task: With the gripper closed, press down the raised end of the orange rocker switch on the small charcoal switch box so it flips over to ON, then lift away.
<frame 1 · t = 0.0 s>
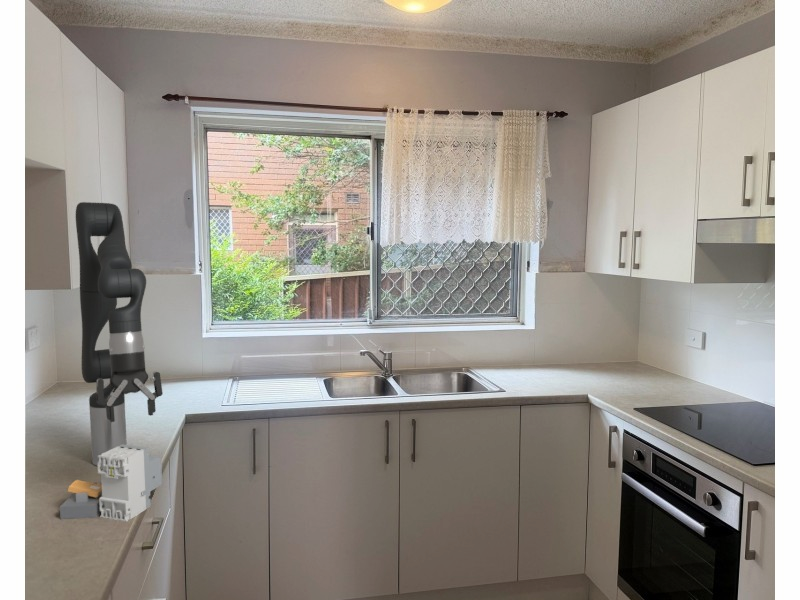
hand: (131, 418, 138), 22 cm above the worktop, tool pointing down, fingers open, 8 cm apart
switch box: (87, 508, 139), on the worktop
circuit breaker: (135, 506, 140), on the worktop
rocker: (86, 489, 138), point 5 cm above the worktop, hinge at -16.0°
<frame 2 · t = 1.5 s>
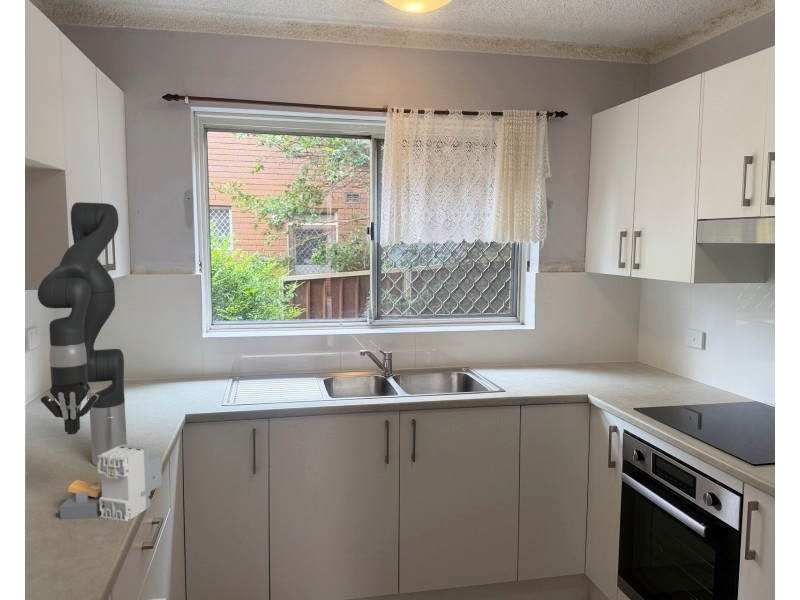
hand: (72, 433, 137), 19 cm above the worktop, tool pointing down, fingers closed
nothing on the worktop moved.
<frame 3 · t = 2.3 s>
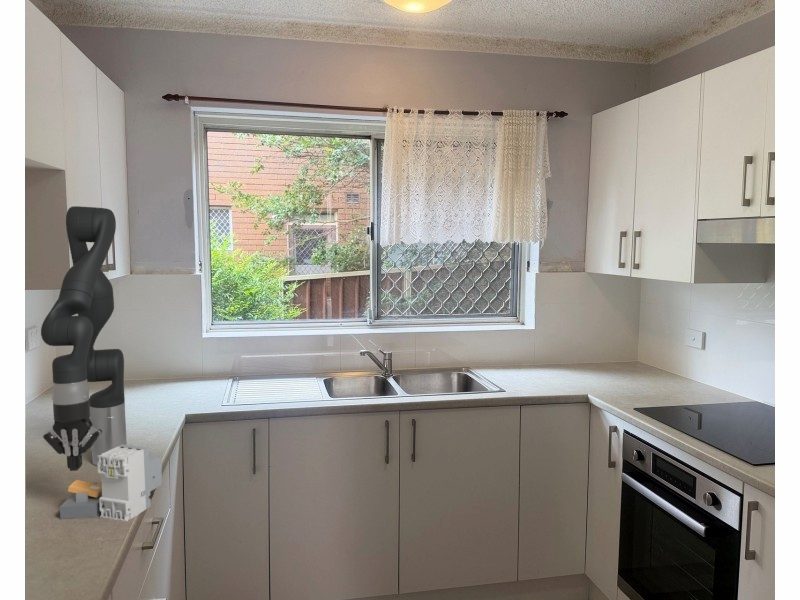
hand: (74, 469, 137), 10 cm above the worktop, tool pointing down, fingers closed
nothing on the worktop moved.
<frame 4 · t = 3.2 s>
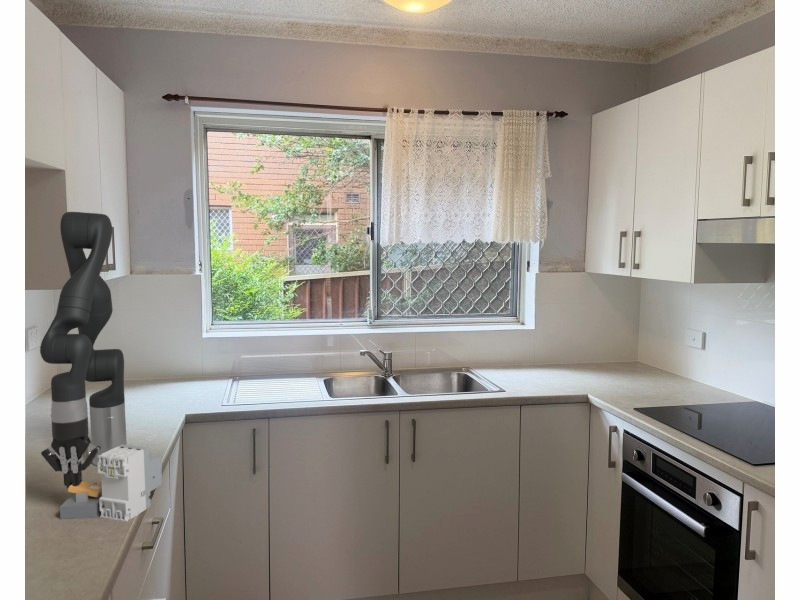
hand: (73, 486, 138), 6 cm above the worktop, tool pointing down, fingers closed
rocker: (86, 489, 138), point 5 cm above the worktop, hinge at -15.0°, touching gripper
everything else where it was.
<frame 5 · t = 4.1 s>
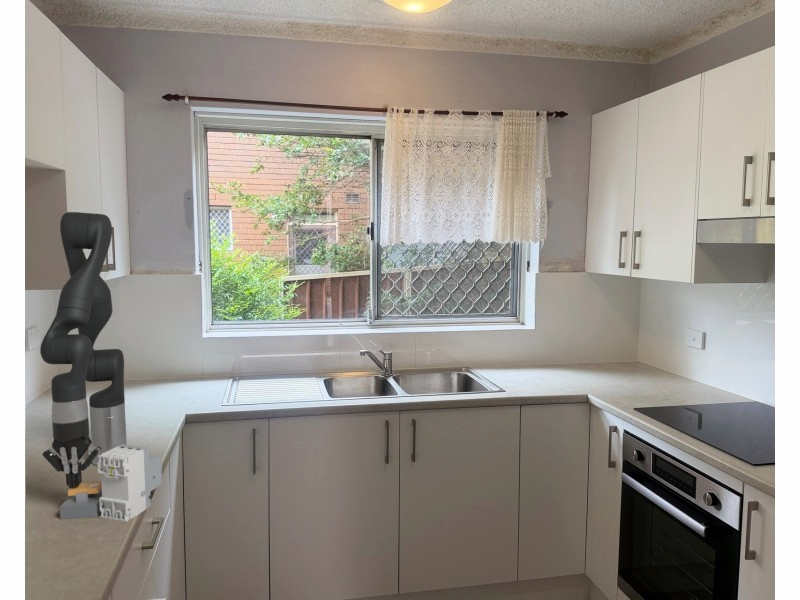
hand: (74, 486, 138), 6 cm above the worktop, tool pointing down, fingers closed
rocker: (86, 489, 139), point 5 cm above the worktop, hinge at 3.0°
everything else where it was.
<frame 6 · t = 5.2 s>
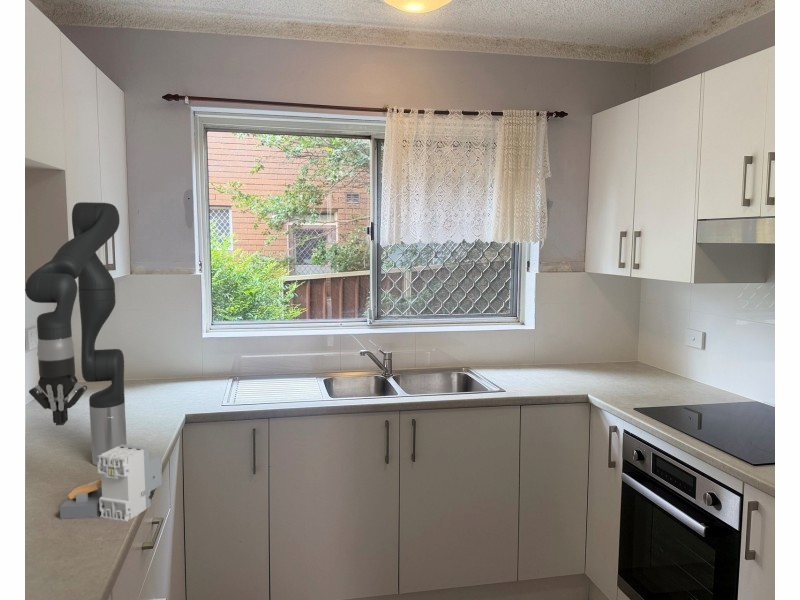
hand: (60, 424, 140), 20 cm above the worktop, tool pointing down, fingers closed
rocker: (86, 489, 139), point 5 cm above the worktop, hinge at 19.6°
everything else where it was.
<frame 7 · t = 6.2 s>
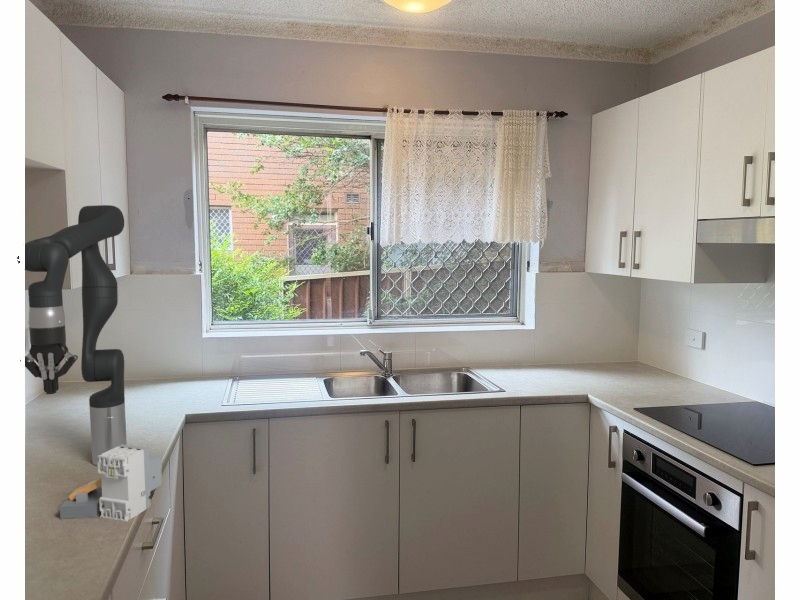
hand: (51, 393, 142), 27 cm above the worktop, tool pointing down, fingers closed
rocker: (86, 489, 139), point 5 cm above the worktop, hinge at 25.6°, touching switch box
everything else where it was.
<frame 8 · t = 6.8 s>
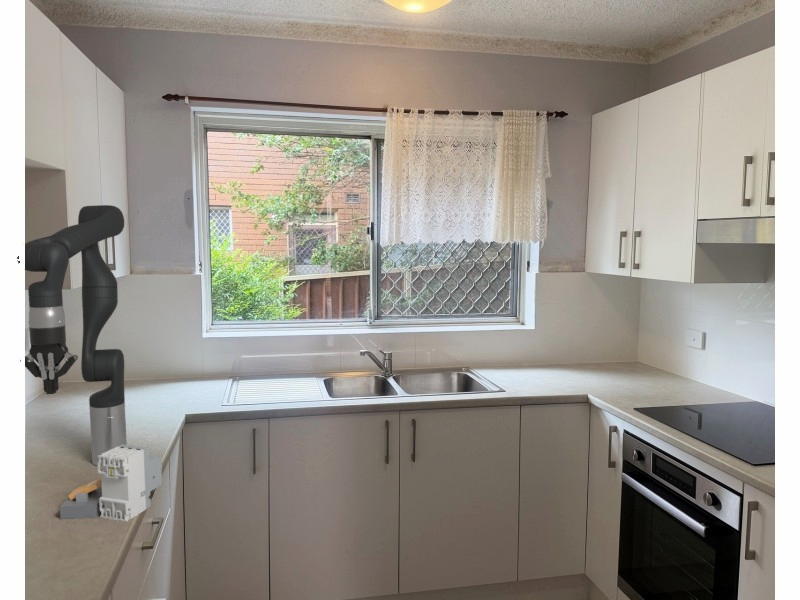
hand: (51, 393, 142), 27 cm above the worktop, tool pointing down, fingers closed
rocker: (86, 489, 139), point 5 cm above the worktop, hinge at 23.1°
everything else where it was.
at the end: rocker at +22° (first picture: -16°); circuit breaker moved 0.2 cm from its start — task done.
